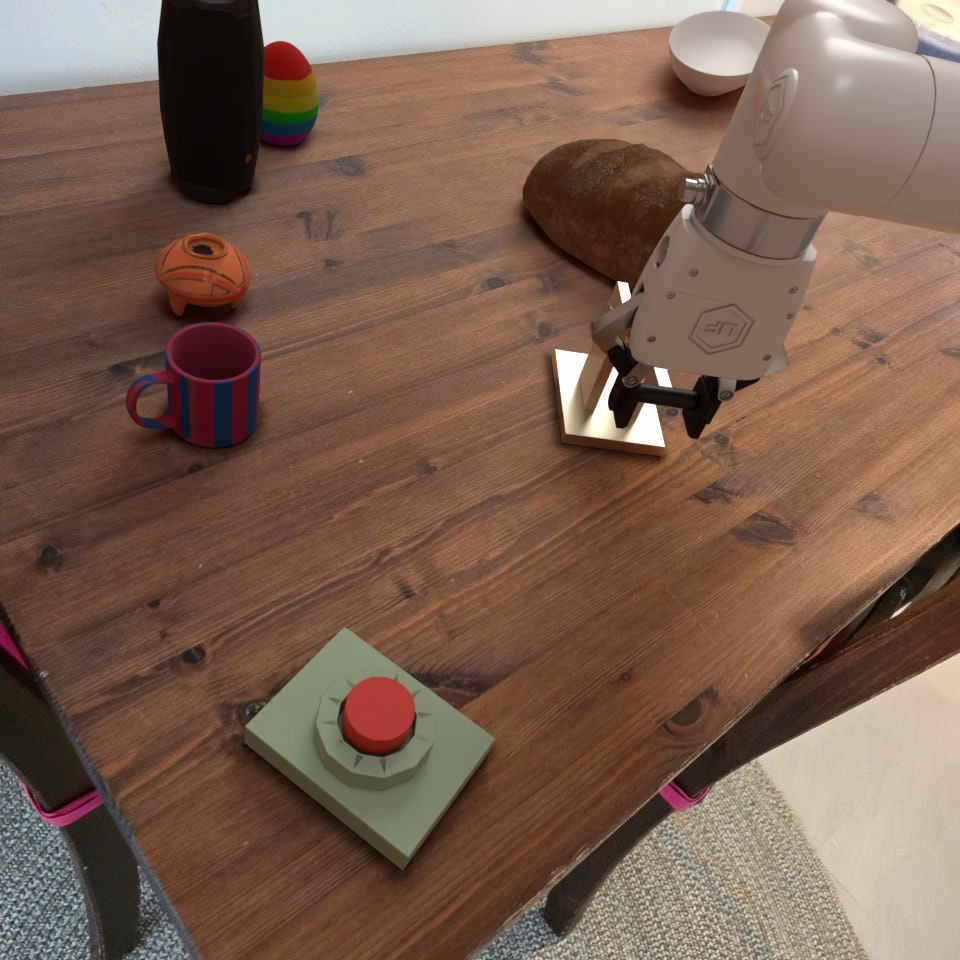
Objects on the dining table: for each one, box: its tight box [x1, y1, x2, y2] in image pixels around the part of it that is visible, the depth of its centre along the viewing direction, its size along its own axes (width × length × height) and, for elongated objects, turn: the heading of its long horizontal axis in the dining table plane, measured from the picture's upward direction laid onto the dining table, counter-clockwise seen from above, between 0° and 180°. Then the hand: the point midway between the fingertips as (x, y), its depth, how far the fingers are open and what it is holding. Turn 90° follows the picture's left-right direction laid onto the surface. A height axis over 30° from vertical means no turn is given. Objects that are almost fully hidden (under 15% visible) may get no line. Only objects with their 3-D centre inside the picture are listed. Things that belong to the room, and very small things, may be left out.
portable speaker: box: [156, 0, 265, 204], centre depth 83 cm, size 9×9×20 cm
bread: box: [522, 138, 704, 291], centre depth 94 cm, size 16×29×11 cm, turn 55°
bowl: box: [668, 10, 771, 97], centre depth 134 cm, size 30×15×6 cm, turn 150°
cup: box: [125, 321, 262, 449], centre depth 66 cm, size 7×10×7 cm
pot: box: [154, 232, 252, 316], centre depth 76 cm, size 8×8×7 cm
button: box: [342, 677, 415, 754], centre depth 51 cm, size 4×4×2 cm
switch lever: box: [626, 327, 700, 410], centre depth 70 cm, size 12×5×2 cm, turn 1°
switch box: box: [243, 626, 496, 871], centre depth 53 cm, size 12×9×4 cm
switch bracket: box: [551, 281, 666, 457], centre depth 76 cm, size 11×9×12 cm
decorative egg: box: [261, 40, 320, 147], centre depth 96 cm, size 8×8×10 cm
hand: (654, 419), depth 67 cm, fingers closed on switch lever, 5 cm apart
